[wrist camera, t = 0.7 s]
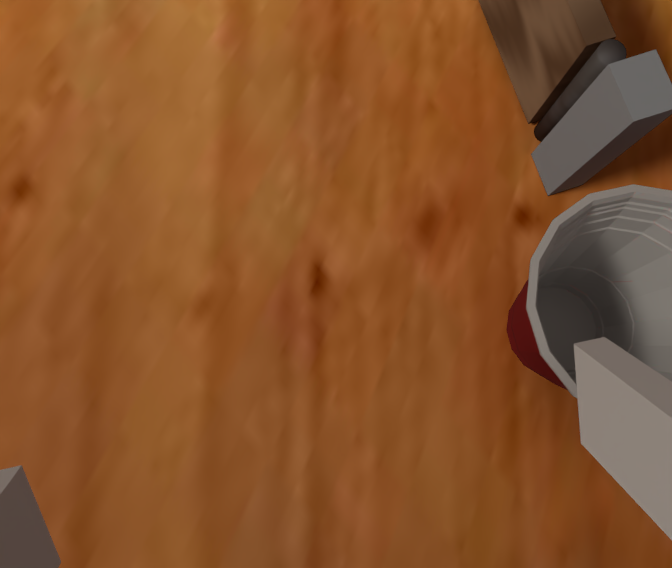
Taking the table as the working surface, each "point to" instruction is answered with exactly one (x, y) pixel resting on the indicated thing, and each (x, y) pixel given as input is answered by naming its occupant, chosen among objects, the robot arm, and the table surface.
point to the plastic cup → (599, 284)
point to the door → (551, 52)
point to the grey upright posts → (605, 121)
